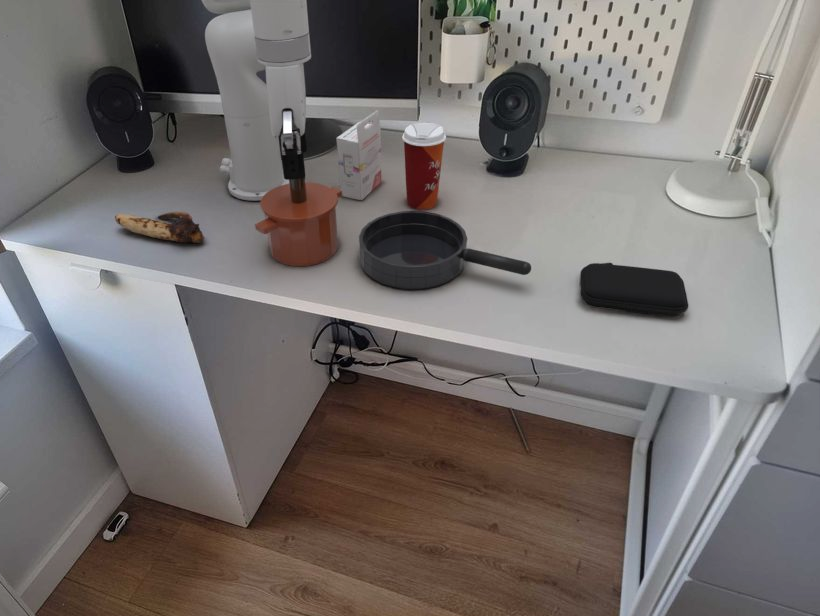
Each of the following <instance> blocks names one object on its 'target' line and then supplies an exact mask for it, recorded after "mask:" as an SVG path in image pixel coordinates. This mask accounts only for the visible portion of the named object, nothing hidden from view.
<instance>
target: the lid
mask: <svg viewBox="0 0 820 616" xmlns="http://www.w3.org/2000/svg"><path fill="white" fill-rule="evenodd" d="M338 202H339V198H338V196H337V194H336V192H335V191H334V190H333V189H331V186H327V185H325V184H321V183H319V182H311V181H309V182H308V181H306V177H305V178H304V179H292V180H289V184H285V185H282V186H279V187H276V188H274V189H272V190H270V191H269V192H267V193H266V194H265V195H264V196H263V197H262V199H261V200H260V203H259V205H260V209H261V211H262V213H263V215H264V214H265V215H267V216H268V217H270V218H272V219H275V220H279V221H284V222H305V221H311V220H315V219H318V218H321V217H323V216H325V215H327V214H329V213H330V212H332V211H333V210H334V209H335V207H336V208H337V205H338V204H339V203H338ZM265 215H264V216H265Z"/></svg>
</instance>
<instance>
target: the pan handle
mask: <svg viewBox="0 0 820 616" xmlns="http://www.w3.org/2000/svg"><path fill="white" fill-rule="evenodd" d="M462 259H463V260H465V262H468V263H472V264H476V265H479V266H480V265H481V266H484V267H489V268H493V269H497V270H501V271H505V272H508V273H509V272H510V273H514V274H518V275H522V276H526V275H529V274H530V273H531V271H532V265H531V264H530V262H528V261H525V260H520V259H516V258H511V257H508V256H504V255H498V254H494V253H490V252H486V251H481V250H477V249H473V248H468V247H466V249H464V250H463V252H462Z"/></svg>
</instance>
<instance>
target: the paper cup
mask: <svg viewBox="0 0 820 616" xmlns="http://www.w3.org/2000/svg"><path fill="white" fill-rule="evenodd" d="M444 129H445V128H444V127H443V126H441V125H439V124H437V123H433V122H417V123H412V124H410V125H407V127H406V128H405V129H404V132H403V134H402V137H401V139H402V141H403V149H404V151H403V152H404V171H405V173H404V174H405V192H406V193H405V194H406V203H407V206H408V207H410V208H412V209H414V210H418V211H425V210H430V209H432V208H435V207H436V205H437V203H438V196H439V188H440V180H441V173H442V172H441V171H442V162H443V153H444V145H445V141H446V140H447V135H446V132H445V130H444Z"/></svg>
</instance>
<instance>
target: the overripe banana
mask: <svg viewBox="0 0 820 616" xmlns="http://www.w3.org/2000/svg"><path fill="white" fill-rule="evenodd" d="M157 218H158V219H160V220H156V219H151V218H145V217H139V216H137V215H133V214H125V213H117V214H116V215H115V216H114V219H115V223H116V224H117V225H120V227H122V228H124V229H125V230H128V231H130V232H132V233H135V234H138V235H144V236H148V237H151V238H155V239H160V240H164V241H173V242H177V243H185V244H187V243H194V244H199V243H202V242H204V240H205V236H204V234H203V231H202V230H201V229H200V227H199V226H200V223H195V222H194V220H193V217H192V216H191V214H190V213H188V212H185V211H169V212H166V213H165V212H164V213H162V214H159V215H158V216H157ZM169 219H176V220H175V222H173V223H170V222H165V221H161V220H169Z"/></svg>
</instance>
